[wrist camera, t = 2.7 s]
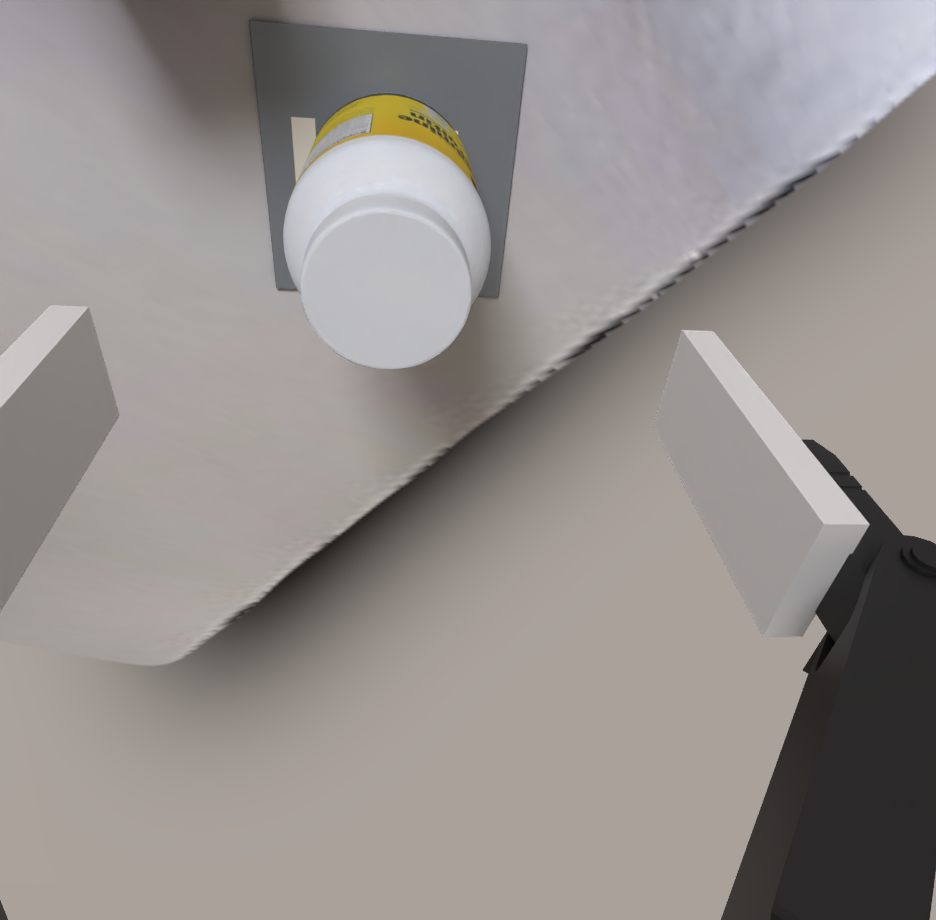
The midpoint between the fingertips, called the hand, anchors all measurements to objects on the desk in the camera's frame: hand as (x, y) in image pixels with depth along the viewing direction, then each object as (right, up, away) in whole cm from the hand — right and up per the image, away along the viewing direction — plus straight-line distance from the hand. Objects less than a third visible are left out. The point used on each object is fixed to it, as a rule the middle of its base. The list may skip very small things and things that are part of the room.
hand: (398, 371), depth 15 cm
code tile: (-2, +10, +12) cm, 15 cm away
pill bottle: (-2, +10, +12) cm, 15 cm away
